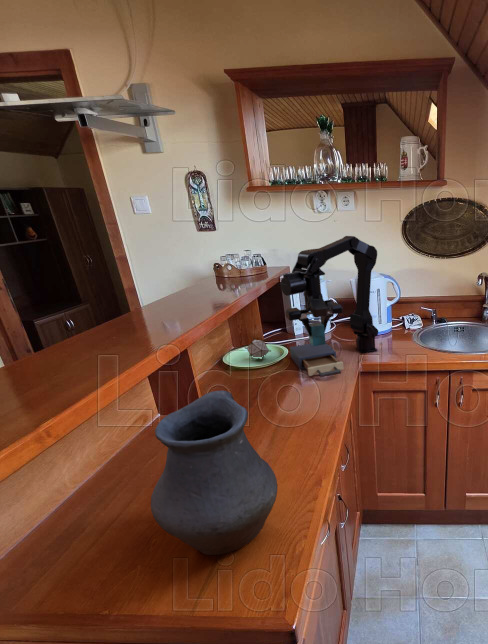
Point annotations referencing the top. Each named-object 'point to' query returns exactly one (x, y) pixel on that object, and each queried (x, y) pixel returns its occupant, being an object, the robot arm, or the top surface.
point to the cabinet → (309, 352)
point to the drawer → (323, 365)
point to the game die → (257, 348)
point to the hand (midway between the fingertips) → (316, 335)
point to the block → (317, 334)
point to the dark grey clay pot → (212, 477)
